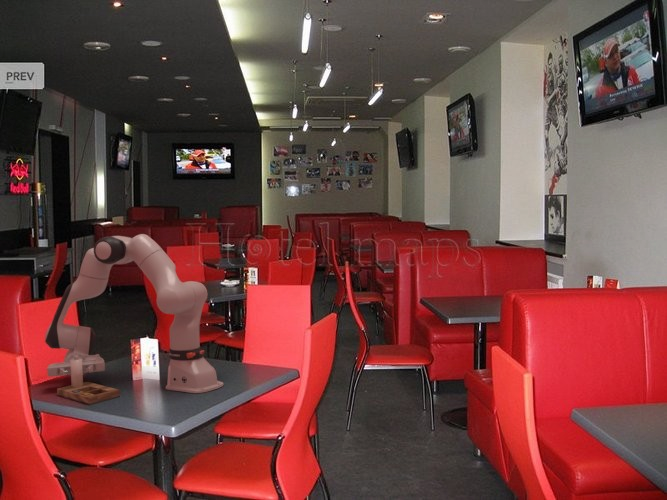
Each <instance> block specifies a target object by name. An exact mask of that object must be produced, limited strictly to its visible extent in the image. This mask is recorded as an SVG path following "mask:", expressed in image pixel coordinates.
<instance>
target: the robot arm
mask: <svg viewBox="0 0 667 500" xmlns="http://www.w3.org/2000/svg"><path fill="white" fill-rule="evenodd" d="M133 263H135V264H136V265H137V267H138V268H139V269H140V270H141V271H142V273H143V274H144V275H145V276H146V278H147V279H148V280H149V282H150V283H151V285H152V286H153V288H154V290H155V291H154V292H155V293H156V305H157V309H159V311H161V312H162V313H163V314H167V315H174V318H173V321H172V323H171V324H170V326H169V347H170V348H169V349H168V357H169V359H170V361H169V364H168V368H167V369H168V370H167V384H166V385H165V390H168V391H176V392H183V393H184V392H185V393H190V394H201V393H206V392H211V391H214V390H217V389H220V388H221V387H223V386H224V382H223V381H220V380H218V377H217V376H218V375H217V371H216V369H215V368H214V366H212V365H211V364H210V363H209V362H208V361H207V360H206V359H205V357H204V353H205V350H202V347H201V345H200V341H201V340H200V324H201V318H202V317H201V316H202V312H203V308H204V305H205V303H206V301H208V290H207V288H206V286H205V284H203V283H201V282H199V281H193V280H190V281H189V280H188V281H184V282H183V281H181V280H180V278H179V277H178V275H177V272H176V270H177V267H176V264H175V263H174V262H173V261H172V259H171V258H170V256H169V255H168V254H167V253H166V252H165V250H163V248H162V247H161V246H160V245H159V244H158V243H157V242H156V241H155V240H154V239H152V238H151V236H149V235H147V234H145V233H139V234H137V235H135V236H134V237H132V236H123V235H112V236H108V235H107V236H103V237H101V238H99V239H98V240H97V241H96V242H95V244H94V246H93V248H90V249H88V250H87V251H86V252H85V255H84V258H83V259H82V263H81V265H80V269H79V273H78V276H77V279H76V280H75V281H74V282H73V283H71V284H68V285H67V287H66V289H65V291H64V292H63V295H62V296H61V299H60V301H59V304H58V306H57V308H56V311H55V313H54V315H53V318H52V320H51V322H50V324H49V325H48V327H47V330H46V331H45V335H44V342H45V344H46V345H47V346H48V347H49V348H50V349H57V350H58V349H59V350H60V349H62V350H67V351H66V353H65V355H64V358H63V362H54V363H51V364H49V365H48V366H47V367H46V371H47V377H50V378H52V377H60V376H62V377H63V376H64V377H65V376H70V377H71V365H70V360H71V359H74V355H78V358H80V359H82V371H83V375H86V374H91V373H97V372H105V370H106V364H105V359H104V358H103V357H101V356H100V354H99V353H94V350H95V345H96V333H95V331H94V329H93V328H92V327H89V326H82V325H73V324H69V323H68V324H67V323H64V321H65V319H66V317H67V314H68V311H69V309H70V307H71V306H72V305H73V304H74V303H76V302H79V301H82V300H88V299H94V298H96V297H98V296H100V295H101V294H103V293H104V292H105V290H106V288H107V285H108V282H109V277H110V272H111V270H112V267H113V266H114V265H125V264H133Z"/></svg>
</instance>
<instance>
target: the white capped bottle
mask: <svg viewBox="0 0 667 500" xmlns="http://www.w3.org/2000/svg"><path fill="white" fill-rule="evenodd" d="M70 365H71V376H70V381H71V385H72V388H79V387H83V382H84V378H83V377H84V374H83V371H82V359H80V358H78V355H74V359H71V360H70ZM71 385H70V386H71Z"/></svg>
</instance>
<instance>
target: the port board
mask: <svg viewBox="0 0 667 500" xmlns="http://www.w3.org/2000/svg"><path fill="white" fill-rule="evenodd" d="M56 395H57V396H58V397H61V398H64V399H68V400H71V401H74V402H78V403H81V404H85V405H89V406H90V405H94V404H99V403H101V402H105V401H108V400H113V399H116V398H120V397H121V393H120V389H118V388H114V387H109V386H106V385H101V384H98V383H94V382H91V381H83V387H79V388H72V385H68V386H67V385H66V386H63V387H59V388H56Z"/></svg>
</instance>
